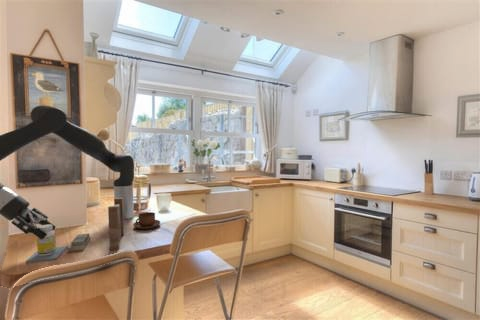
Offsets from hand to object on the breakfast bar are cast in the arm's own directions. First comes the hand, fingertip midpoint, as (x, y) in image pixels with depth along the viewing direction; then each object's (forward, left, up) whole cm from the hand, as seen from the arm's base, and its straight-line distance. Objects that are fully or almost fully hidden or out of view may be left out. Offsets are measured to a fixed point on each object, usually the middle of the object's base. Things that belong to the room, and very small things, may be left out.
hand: (49, 233), depth 96 cm
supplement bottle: (0, -1, -7) cm, 7 cm away
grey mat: (0, -1, -8) cm, 8 cm away
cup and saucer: (-14, +37, -8) cm, 40 cm away
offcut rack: (-2, +15, -8) cm, 17 cm away
